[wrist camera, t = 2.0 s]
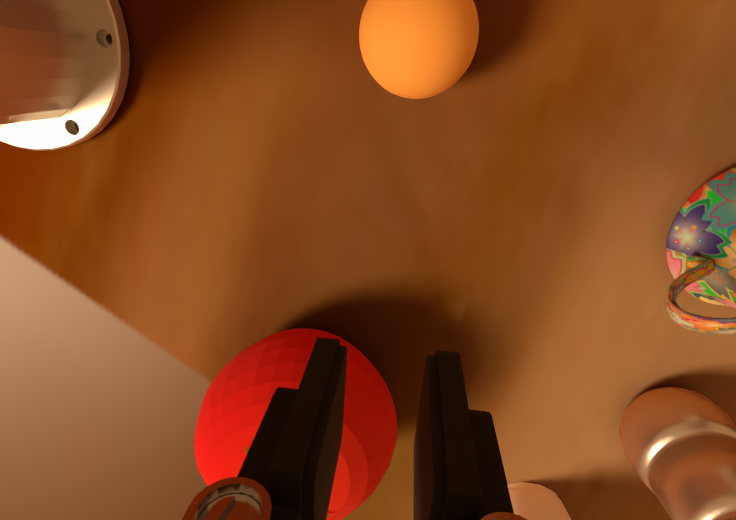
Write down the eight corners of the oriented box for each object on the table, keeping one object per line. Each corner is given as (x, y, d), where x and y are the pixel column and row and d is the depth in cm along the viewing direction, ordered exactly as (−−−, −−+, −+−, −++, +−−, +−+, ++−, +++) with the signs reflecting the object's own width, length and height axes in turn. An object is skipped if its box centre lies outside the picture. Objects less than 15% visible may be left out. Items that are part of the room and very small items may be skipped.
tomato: (204, 365, 33) (116, 486, 23) (321, 269, 29) (274, 367, 19) (309, 458, 35) (270, 602, 26) (430, 381, 31) (437, 518, 22)
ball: (362, 92, 24) (348, 96, 19) (368, -25, 22) (355, -54, 17) (462, 100, 24) (475, 106, 19) (479, -18, 22) (499, -46, 17)
